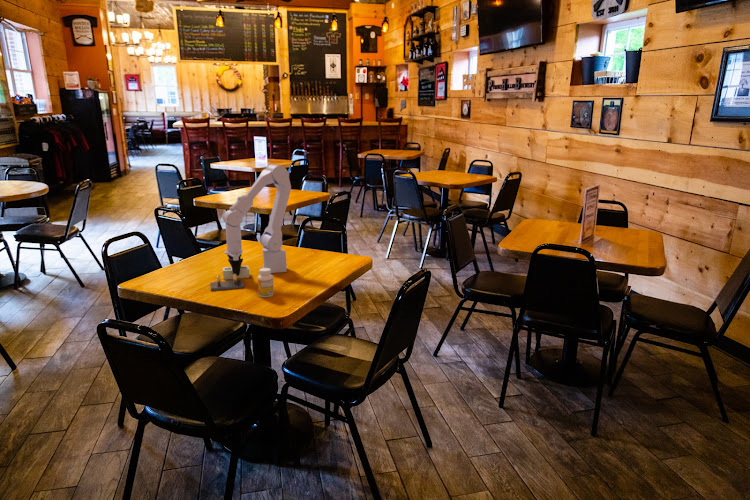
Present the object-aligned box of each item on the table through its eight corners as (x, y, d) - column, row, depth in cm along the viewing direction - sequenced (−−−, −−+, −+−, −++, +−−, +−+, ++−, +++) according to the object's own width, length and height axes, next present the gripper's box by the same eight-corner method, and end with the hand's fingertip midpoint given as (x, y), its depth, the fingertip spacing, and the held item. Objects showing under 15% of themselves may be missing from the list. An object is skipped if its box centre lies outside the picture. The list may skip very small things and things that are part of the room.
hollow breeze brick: (248, 273, 207) (247, 265, 206) (249, 277, 203) (249, 268, 202) (223, 275, 204) (222, 267, 203) (223, 279, 200) (223, 271, 199)
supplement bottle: (259, 292, 185) (258, 267, 182) (274, 292, 185) (273, 267, 183) (257, 297, 179) (256, 271, 177) (272, 297, 180) (271, 271, 177)
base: (242, 282, 196) (242, 271, 195) (244, 287, 190) (243, 276, 189) (210, 285, 193) (209, 273, 191) (210, 290, 186) (209, 279, 185)
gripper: (222, 237, 205) (225, 269, 208) (224, 245, 192) (226, 279, 195) (240, 236, 207) (242, 267, 211) (243, 244, 194) (245, 277, 197)
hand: (236, 273), depth 203 cm, fingers open, 6 cm apart
